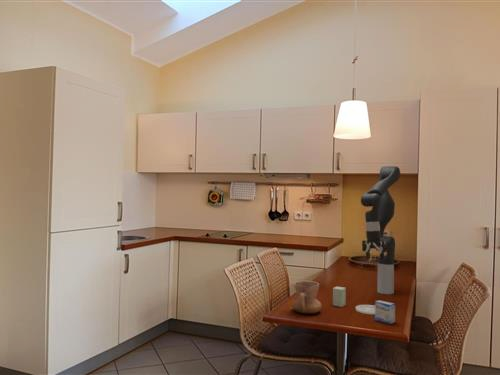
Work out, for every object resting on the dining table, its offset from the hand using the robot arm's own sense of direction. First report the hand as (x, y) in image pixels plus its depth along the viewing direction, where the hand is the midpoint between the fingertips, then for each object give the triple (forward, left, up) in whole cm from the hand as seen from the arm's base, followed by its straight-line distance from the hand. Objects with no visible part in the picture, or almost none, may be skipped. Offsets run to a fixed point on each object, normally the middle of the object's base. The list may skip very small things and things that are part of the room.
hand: (375, 259), depth 226 cm
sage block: (+20, -13, -22) cm, 33 cm away
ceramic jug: (+41, -22, -23) cm, 52 cm away
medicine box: (+33, +14, -23) cm, 42 cm away
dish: (+21, +3, -22) cm, 31 cm away
